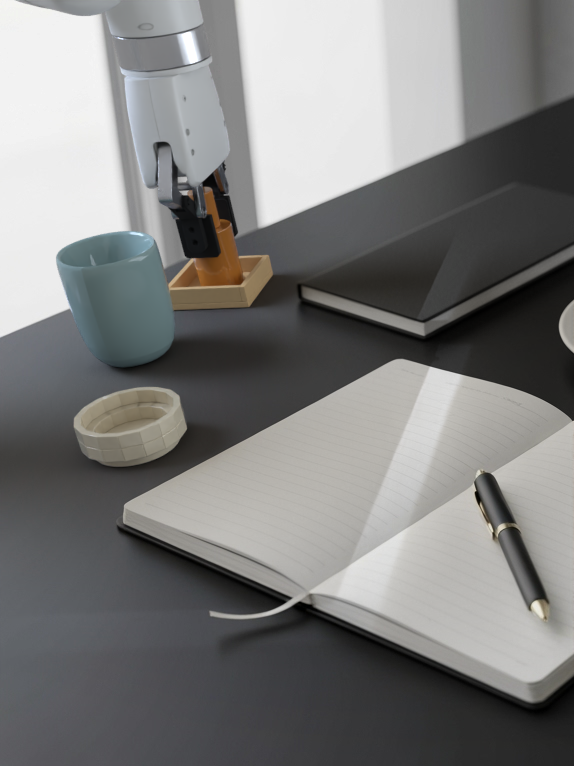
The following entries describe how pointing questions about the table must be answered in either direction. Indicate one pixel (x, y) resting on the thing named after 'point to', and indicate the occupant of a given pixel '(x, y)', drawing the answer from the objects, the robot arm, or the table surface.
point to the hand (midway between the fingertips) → (212, 244)
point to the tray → (230, 296)
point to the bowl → (131, 426)
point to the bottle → (228, 262)
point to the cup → (119, 296)
